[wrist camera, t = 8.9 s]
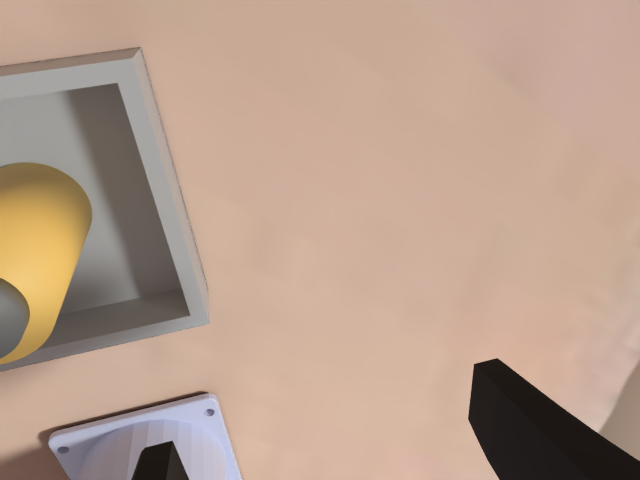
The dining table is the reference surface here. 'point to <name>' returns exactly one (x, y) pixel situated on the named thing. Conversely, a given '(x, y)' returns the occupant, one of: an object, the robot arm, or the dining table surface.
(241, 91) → the dining table surface
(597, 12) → the dining table surface
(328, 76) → the dining table surface
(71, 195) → the cylinder
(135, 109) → the grey tray
